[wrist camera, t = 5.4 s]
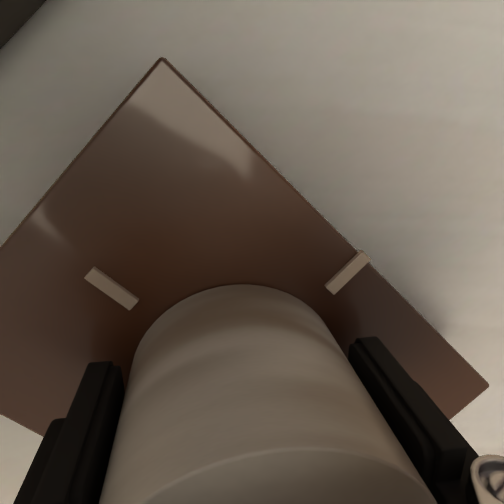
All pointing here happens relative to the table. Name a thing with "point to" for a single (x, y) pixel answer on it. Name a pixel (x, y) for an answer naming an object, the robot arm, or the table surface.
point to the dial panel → (182, 255)
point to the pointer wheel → (251, 412)
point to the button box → (15, 16)
